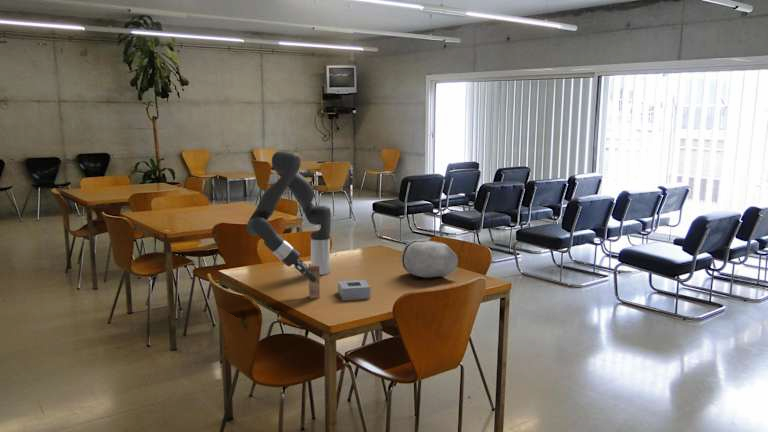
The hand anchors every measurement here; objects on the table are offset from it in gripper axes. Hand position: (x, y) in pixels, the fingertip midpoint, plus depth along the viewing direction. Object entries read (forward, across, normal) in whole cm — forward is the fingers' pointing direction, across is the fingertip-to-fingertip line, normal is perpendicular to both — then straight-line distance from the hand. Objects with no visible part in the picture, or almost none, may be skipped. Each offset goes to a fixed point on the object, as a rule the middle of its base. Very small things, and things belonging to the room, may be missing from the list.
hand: (313, 278), depth 258 cm
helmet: (+48, +24, -36) cm, 65 cm away
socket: (+18, -1, -6) cm, 19 cm away
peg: (+6, 0, +6) cm, 8 cm away
